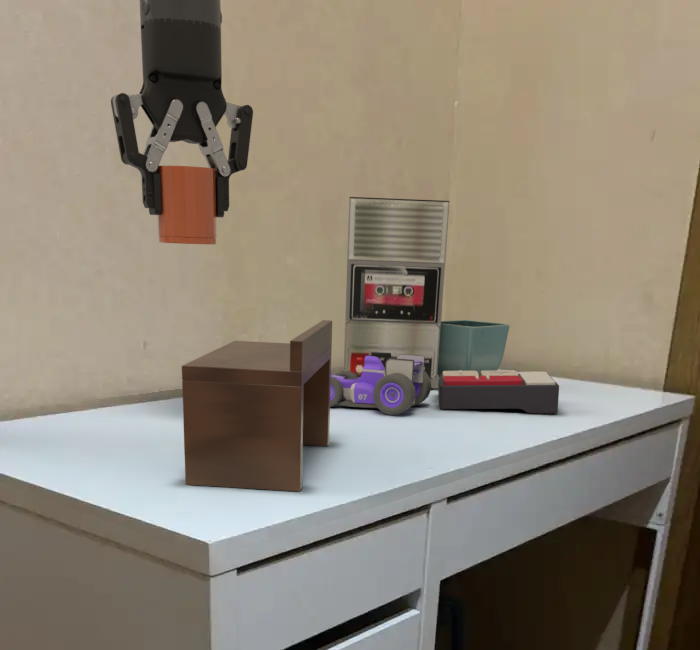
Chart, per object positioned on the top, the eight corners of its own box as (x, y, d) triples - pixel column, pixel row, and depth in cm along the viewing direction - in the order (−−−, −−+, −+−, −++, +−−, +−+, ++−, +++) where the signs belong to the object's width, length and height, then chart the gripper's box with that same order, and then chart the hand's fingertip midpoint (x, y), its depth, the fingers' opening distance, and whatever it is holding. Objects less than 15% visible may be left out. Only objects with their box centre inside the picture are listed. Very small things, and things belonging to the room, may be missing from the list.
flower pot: (422, 383, 141) (426, 320, 137) (461, 379, 146) (466, 319, 143) (466, 391, 135) (471, 326, 131) (505, 386, 140) (511, 324, 137)
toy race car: (323, 395, 127) (325, 345, 124) (430, 405, 122) (433, 354, 120) (296, 405, 119) (296, 352, 116) (408, 417, 114) (412, 362, 112)
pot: (152, 242, 93) (148, 164, 91) (167, 242, 99) (164, 168, 96) (209, 244, 93) (207, 166, 90) (221, 244, 98) (220, 170, 96)
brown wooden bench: (185, 484, 81) (180, 335, 76) (235, 438, 99) (234, 315, 94) (300, 491, 80) (302, 341, 75) (329, 443, 98) (332, 320, 93)
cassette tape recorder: (342, 386, 135) (348, 196, 125) (342, 380, 141) (348, 198, 131) (437, 390, 135) (451, 200, 126) (433, 383, 141) (446, 202, 131)
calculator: (438, 368, 129) (549, 367, 128) (438, 400, 130) (547, 399, 129) (440, 380, 119) (560, 379, 118) (439, 414, 120) (558, 413, 119)
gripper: (238, 38, 95) (240, 218, 101) (95, 19, 88) (106, 213, 95) (266, 26, 88) (266, 219, 95) (115, 5, 82) (126, 213, 89)
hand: (186, 215), depth 95 cm, fingers closed on pot, 6 cm apart
